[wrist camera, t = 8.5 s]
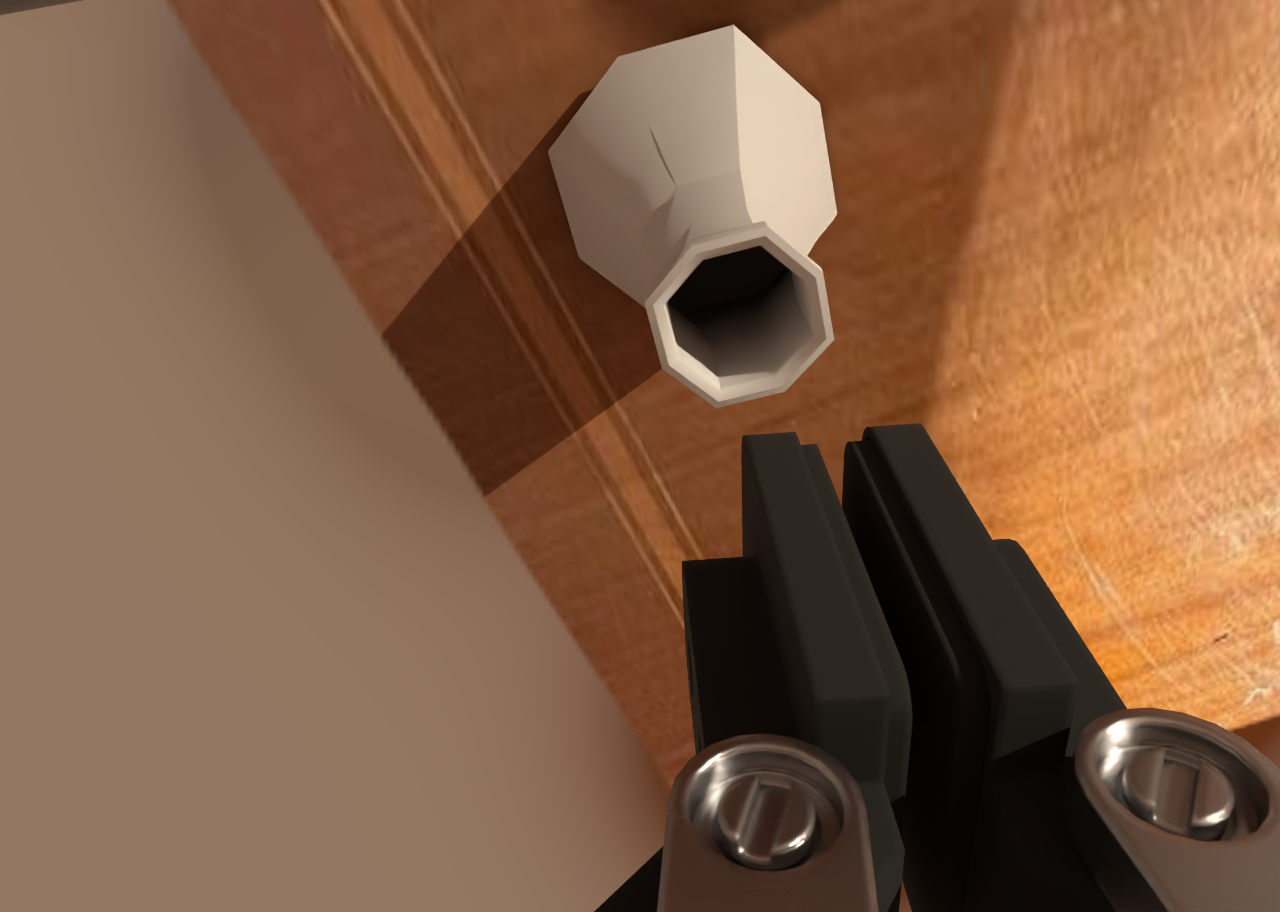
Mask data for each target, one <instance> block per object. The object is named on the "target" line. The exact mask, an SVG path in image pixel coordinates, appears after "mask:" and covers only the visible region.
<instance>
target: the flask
mask: <svg viewBox="0 0 1280 912" xmlns="http://www.w3.org/2000/svg"><path fill="white" fill-rule="evenodd" d="M548 154H549V158H550V161H551V164H552V168H553V171H554V175H555V178H556V181H557V185H558V188H559V192H560V195H561V198H562V202H563V205H564V209H565V212H566V215H567V219H568V222H569V226H570V229H571V232H572V236H573V239H574V243H575V246H576V249H577V253H578V256H579V258H580V259H581V260H582V261H584V262H585V263H586V264H587V265H589V266H590V267H591V268H593V269H594V270H595V271H597V272H598V273H599V274H601V275H602V276H603V277H605V278H606V279H607V280H609V281H610V282H611V283H613V284H614V285H615V286H617V287H618V288H619V289H621V290H622V291H623V292H625V293H626V294H627V295H629V296H630V297H631V298H633V299H634V300H635V301H637V302H638V303H639V304H641V305H642V306H643V307H645V308H646V311H647V314H648V318H649V322H650V326H651V329H652V333H653V337H654V341H655V344H656V348H657V352H658V356H659V359H660V363H661V367H662V369H663V370H665V371H666V372H667V373H669V374H670V375H671V376H673V377H674V378H676V379H677V380H678V381H680V382H681V383H682V384H684V385H685V386H686V387H688V388H689V389H691V390H692V391H693V392H695V393H696V394H697V395H699V396H700V397H702V398H703V399H704V400H706V401H707V402H708V403H710V404H711V405H712V406H714V407H715V408H719V407H723V406H727V405H731V404H735V403H740V402H744V401H748V400H752V399H756V398H760V397H765V396H769V395H773V394H777V393H781V392H785V391H786V390H787V389H788V388H789V387H790V386H791V385H792V384H793V383H794V382H795V381H796V380H797V378H798V377H799V376H800V375H801V374H802V373H803V372H804V371H805V370H806V369H807V368H808V367H809V366H810V365H811V364H812V363H813V362H814V361H815V360H816V359H817V357H818V356H819V355H820V354H821V353H822V352H823V351H824V350H825V349H826V348H827V347H828V346H829V345H830V344H831V343H832V342H833V341H834V335H833V329H832V323H831V317H830V311H829V306H828V300H827V294H826V288H825V282H824V276H823V271H822V269H821V267H820V266H818V265H817V264H816V263H815V262H814V261H812V260H811V259H810V258H809V257H808V256H807V255H808V253H809V252H810V250H811V249H812V247H813V245H814V244H815V242H816V241H817V239H818V238H819V237H820V236H821V234H822V233H823V232H824V231H825V229H826V228H827V227H828V226H829V225H830V223H831V222H832V221H833V219H834V218H835V216H836V214H837V209H836V203H835V196H834V190H833V184H832V177H831V171H830V165H829V158H828V152H827V146H826V139H825V133H824V127H823V120H822V114H821V107H820V103H819V102H818V101H817V100H816V99H815V98H814V97H813V96H812V95H811V94H810V93H808V92H807V91H806V90H805V89H804V88H803V87H802V86H801V85H800V84H798V83H797V82H796V81H795V80H794V79H793V78H792V77H791V76H790V75H789V74H787V73H786V72H785V71H784V70H783V69H782V68H781V67H780V66H779V65H778V64H776V63H775V62H774V61H773V60H772V59H771V58H770V57H769V56H768V55H767V54H765V53H764V52H763V51H762V50H761V49H760V48H759V47H758V46H757V45H756V44H754V43H753V42H752V41H751V40H750V39H749V38H748V37H747V36H746V35H745V34H743V33H742V32H741V31H740V30H739V29H738V28H737V27H736V26H735V25H731V26H727V27H723V28H720V29H716V30H713V31H709V32H705V33H702V34H698V35H695V36H691V37H687V38H684V39H680V40H677V41H673V42H669V43H666V44H662V45H659V46H655V47H651V48H648V49H644V50H641V51H637V52H633V53H630V54H626V55H622V56H619V57H617V59H616V60H615V61H614V63H613V64H612V65H611V67H610V68H609V70H608V71H607V72H606V74H605V75H604V76H603V78H602V79H601V80H600V82H599V83H598V84H597V86H596V87H595V88H594V90H593V91H592V92H591V94H590V95H589V97H588V98H587V99H586V101H585V102H584V103H583V105H582V106H581V107H580V109H579V110H578V111H577V113H576V114H575V115H574V117H573V118H572V120H571V121H570V122H569V124H568V125H567V126H566V128H565V129H564V130H563V132H562V133H561V134H560V136H559V137H558V138H557V140H556V141H555V142H554V144H553V145H552V147H551V148H550V149H549V151H548Z"/></svg>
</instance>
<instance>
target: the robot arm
mask: <svg viewBox="0 0 1280 912" xmlns="http://www.w3.org/2000/svg"><path fill="white" fill-rule="evenodd" d="M742 528H743V557H734V558H720V559H705V560H690V561H682V585H683V605H684V624H685V641H686V655H687V668H688V680H689V691H690V701H691V711H692V720H693V730H694V739H695V749H696V755H695V756H694V757H692V758H691V759H690V760H689V761H688V762H687V764H686V765H685V766H684V768H683V769H682V770H681V771H680V773H679V774H678V775H677V777H676V778H675V780H674V783H673V787H672V790H671V793H670V797H669V800H668V807H667V817H666V827H665V837H664V846H663V847H662V848H661V849H660V850H659V851H658V852H657V853H656V854H654V856H652V857H651V858H650V859H649V860H648V861H647V862H646V863H645V864H644V865H643V866H642V867H641V868H640V869H639V870H638V871H637V872H636V873H635V874H634V875H632V876H631V877H630V878H629V879H628V880H627V881H626V882H625V883H624V884H623V885H622V886H621V887H620V888H619V889H618V890H617V891H615V893H613V894H612V895H611V896H610V897H609V898H608V899H607V900H606V901H605V902H604V903H603V904H602V905H601V906H600V907H599V908H598V909H597V910H596V911H594V912H899V903H900V894H901V884H902V880H903V883H904V887H905V890H906V893H907V896H908V900H909V903H910V906H911V910H912V912H1280V771H1279V770H1278V769H1277V768H1276V767H1275V766H1274V765H1273V763H1272V762H1271V761H1269V760H1268V759H1267V758H1266V757H1265V756H1263V755H1262V754H1261V753H1260V752H1259V751H1257V750H1256V749H1255V748H1254V747H1253V746H1251V745H1250V744H1249V743H1248V742H1247V741H1245V740H1244V739H1242V738H1240V737H1238V736H1237V735H1235V734H1233V733H1231V732H1229V731H1227V730H1226V729H1224V728H1222V727H1220V726H1218V725H1217V724H1215V723H1212V722H1209V721H1206V720H1203V719H1200V718H1197V717H1194V716H1191V715H1188V714H1185V713H1182V712H1176V711H1169V710H1163V709H1156V708H1136V709H1127V708H1126V706H1125V705H1124V703H1123V702H1122V700H1121V699H1120V697H1119V696H1118V694H1117V692H1116V691H1115V689H1114V688H1113V686H1112V685H1111V683H1110V682H1109V680H1108V679H1107V677H1106V675H1105V674H1104V672H1103V671H1102V669H1101V668H1100V666H1099V665H1098V663H1097V662H1096V660H1095V659H1094V657H1093V655H1092V654H1091V652H1090V651H1089V649H1088V648H1087V646H1086V645H1085V643H1084V642H1083V640H1082V639H1081V637H1080V635H1079V634H1078V632H1077V631H1076V629H1075V628H1074V626H1073V625H1072V623H1071V622H1070V620H1069V618H1068V617H1067V615H1066V614H1065V612H1064V611H1063V609H1062V608H1061V606H1060V605H1059V603H1058V602H1057V600H1056V598H1055V597H1054V595H1053V594H1052V592H1051V591H1050V589H1049V588H1048V586H1047V585H1046V583H1045V582H1044V580H1043V578H1042V577H1041V575H1040V574H1039V572H1038V571H1037V569H1036V568H1035V566H1034V565H1033V563H1032V561H1031V560H1030V558H1029V557H1028V555H1027V554H1026V552H1025V551H1024V549H1023V548H1022V547H1021V546H1020V545H1019V544H1018V543H1017V541H1014V540H1011V539H998V540H992V539H991V537H990V535H989V534H988V532H987V530H986V529H985V527H984V525H983V524H982V522H981V520H980V519H979V517H978V516H977V514H976V512H975V511H974V509H973V507H972V506H971V504H970V502H969V501H968V499H967V497H966V496H965V494H964V493H963V491H962V489H961V488H960V486H959V484H958V483H957V481H956V479H955V478H954V476H953V474H952V473H951V471H950V470H949V468H948V466H947V465H946V463H945V461H944V460H943V458H942V456H941V455H940V453H939V452H938V450H937V448H936V447H935V445H934V443H933V442H932V440H931V438H930V437H929V435H928V433H927V432H926V430H925V429H924V427H923V426H922V425H921V424H905V425H890V426H876V427H866V429H865V430H864V433H863V437H862V441H853V442H847V444H846V447H845V453H844V471H843V494H842V507H841V504H840V502H839V499H838V497H837V494H836V492H835V489H834V486H833V484H832V481H831V479H830V476H829V474H828V471H827V469H826V466H825V463H824V461H823V458H822V456H821V453H820V451H819V448H818V446H817V444H810V445H800V442H799V439H798V436H797V435H796V433H795V432H788V433H774V434H759V435H745V436H743V438H742Z"/></svg>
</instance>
